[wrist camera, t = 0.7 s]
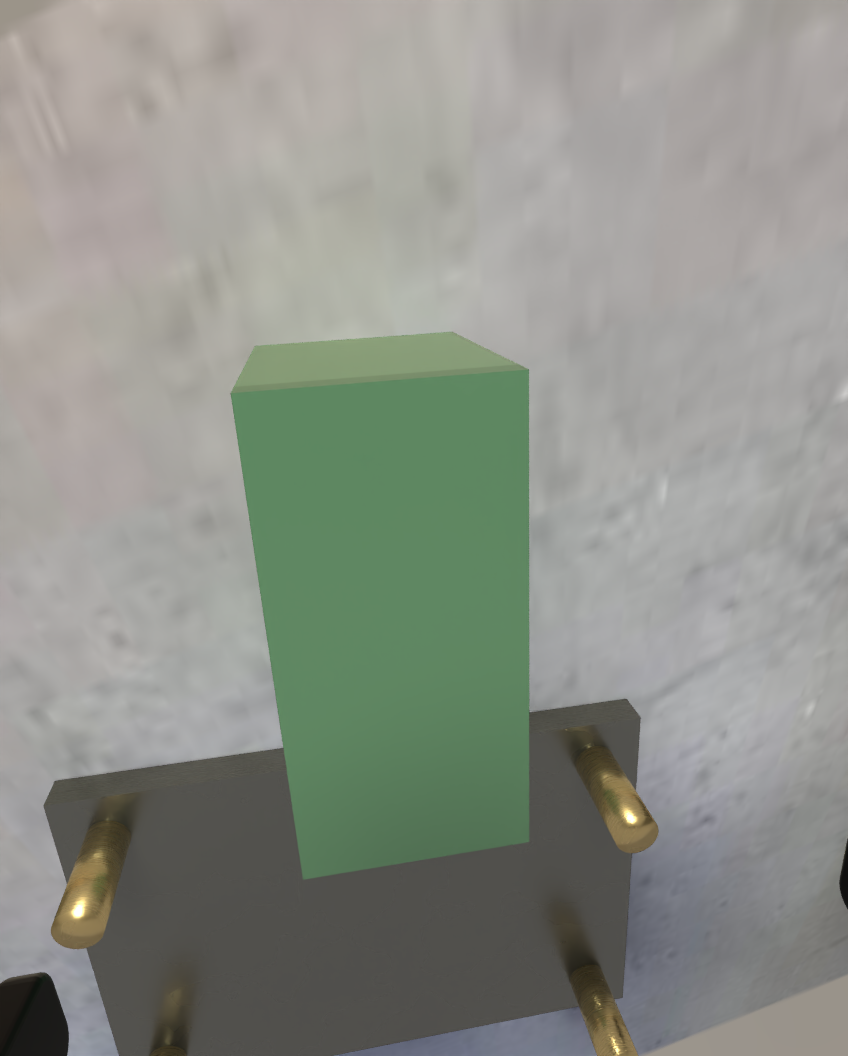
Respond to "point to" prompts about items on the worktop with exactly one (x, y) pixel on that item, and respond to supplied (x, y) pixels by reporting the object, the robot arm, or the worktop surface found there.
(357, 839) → the green rectangular block
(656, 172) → the worktop surface
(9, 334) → the worktop surface
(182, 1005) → the chassis plate
